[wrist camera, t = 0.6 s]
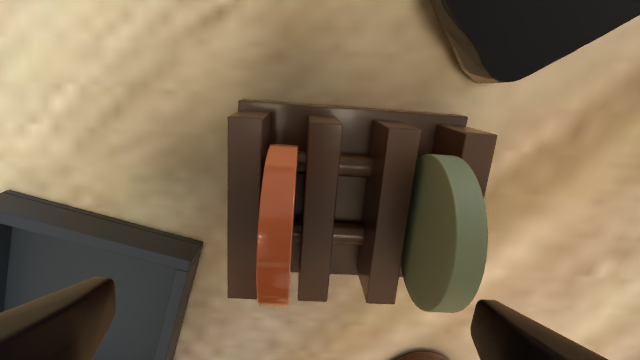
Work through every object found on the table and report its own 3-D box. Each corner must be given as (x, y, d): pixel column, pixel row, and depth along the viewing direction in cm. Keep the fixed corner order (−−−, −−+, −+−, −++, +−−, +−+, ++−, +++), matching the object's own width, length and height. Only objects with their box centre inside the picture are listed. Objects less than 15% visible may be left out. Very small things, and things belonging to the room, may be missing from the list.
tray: (163, 394, 24) (148, 427, 22) (-8, 358, 23) (-44, 389, 20) (203, 242, 21) (190, 261, 19) (8, 189, 20) (-31, 203, 17)
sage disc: (411, 261, 20) (466, 351, 13) (391, 260, 20) (436, 350, 13) (431, 143, 18) (506, 178, 11) (408, 141, 18) (471, 176, 11)
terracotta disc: (292, 255, 19) (285, 346, 13) (271, 254, 19) (253, 345, 13) (299, 134, 18) (296, 165, 11) (276, 133, 18) (258, 163, 11)
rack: (430, 268, 22) (463, 315, 18) (240, 260, 22) (223, 307, 17) (458, 114, 20) (505, 124, 15) (242, 98, 19) (222, 103, 14)
